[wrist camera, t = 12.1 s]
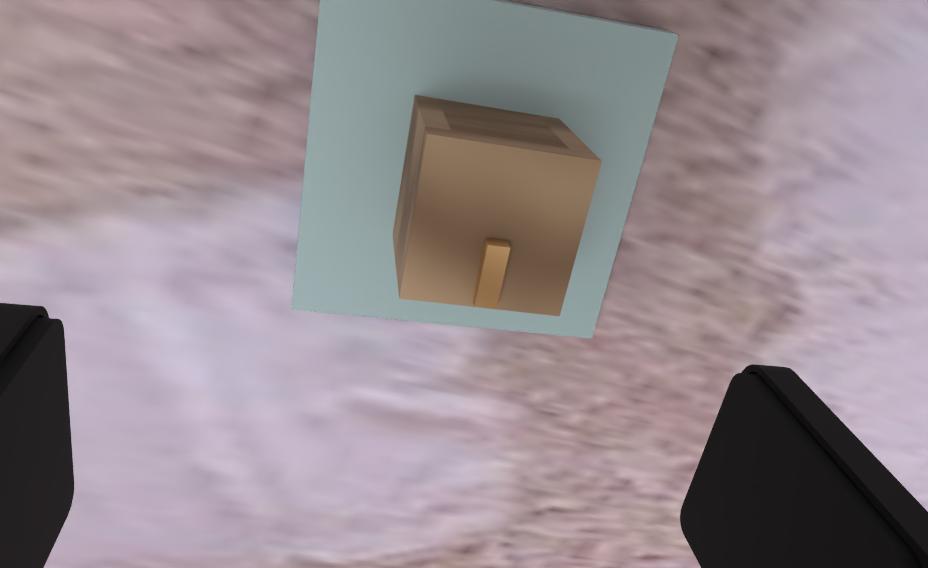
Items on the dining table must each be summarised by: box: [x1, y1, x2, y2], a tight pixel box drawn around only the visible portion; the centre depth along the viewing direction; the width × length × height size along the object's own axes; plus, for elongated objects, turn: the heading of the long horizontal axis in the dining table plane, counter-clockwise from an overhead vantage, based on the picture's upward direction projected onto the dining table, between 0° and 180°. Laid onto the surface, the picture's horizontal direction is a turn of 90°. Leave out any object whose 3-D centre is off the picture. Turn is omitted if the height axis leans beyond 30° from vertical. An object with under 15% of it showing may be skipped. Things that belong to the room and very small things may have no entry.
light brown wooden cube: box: [393, 95, 602, 316], centre depth 28 cm, size 6×6×7 cm
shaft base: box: [291, 0, 679, 339], centre depth 30 cm, size 14×14×6 cm
